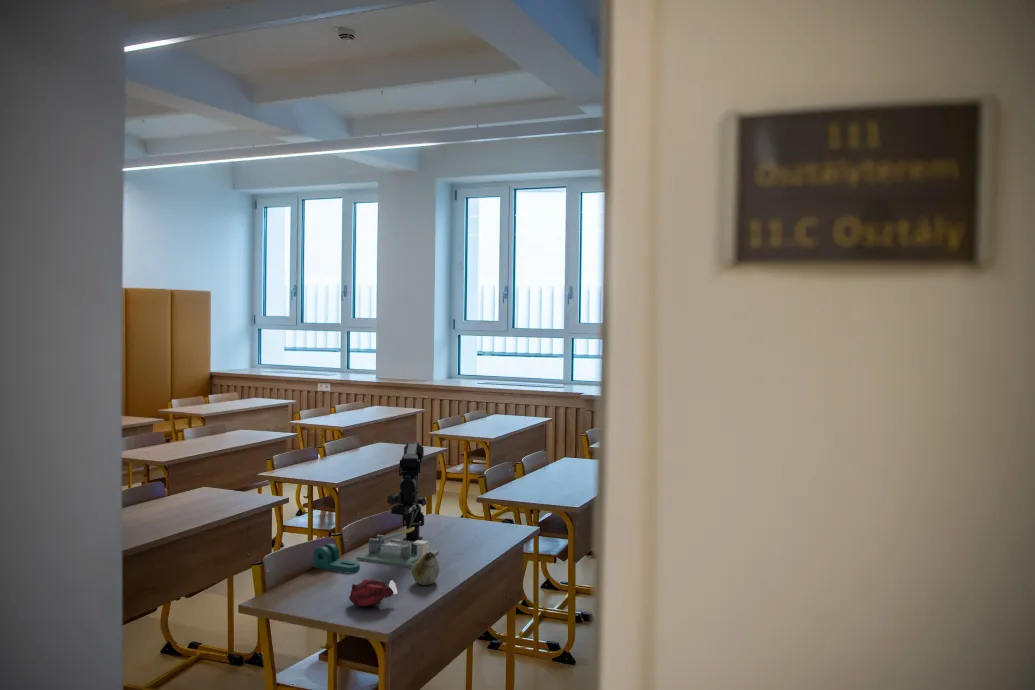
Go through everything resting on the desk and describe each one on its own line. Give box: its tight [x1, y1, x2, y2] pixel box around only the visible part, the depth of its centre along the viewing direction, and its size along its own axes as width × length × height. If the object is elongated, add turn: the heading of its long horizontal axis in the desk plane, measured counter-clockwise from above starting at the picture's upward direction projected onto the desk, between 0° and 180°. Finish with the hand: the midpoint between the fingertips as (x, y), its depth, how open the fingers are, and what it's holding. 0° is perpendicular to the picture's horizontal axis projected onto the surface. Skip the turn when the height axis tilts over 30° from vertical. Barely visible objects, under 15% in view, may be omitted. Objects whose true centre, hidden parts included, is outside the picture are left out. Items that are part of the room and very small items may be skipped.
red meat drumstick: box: [348, 578, 398, 608], centre depth 241 cm, size 15×13×9 cm
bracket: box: [312, 542, 361, 574], centre depth 278 cm, size 18×7×8 cm, turn 67°
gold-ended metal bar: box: [377, 527, 415, 543], centre depth 293 cm, size 4×18×2 cm, turn 70°
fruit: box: [411, 552, 440, 586], centre depth 262 cm, size 10×9×12 cm
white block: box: [413, 539, 430, 559], centre depth 289 cm, size 5×4×6 cm
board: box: [355, 542, 440, 569], centre depth 293 cm, size 20×26×1 cm
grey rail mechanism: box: [368, 534, 418, 559], centre depth 293 cm, size 11×18×6 cm, turn 70°
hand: (408, 527), depth 291 cm, fingers closed
